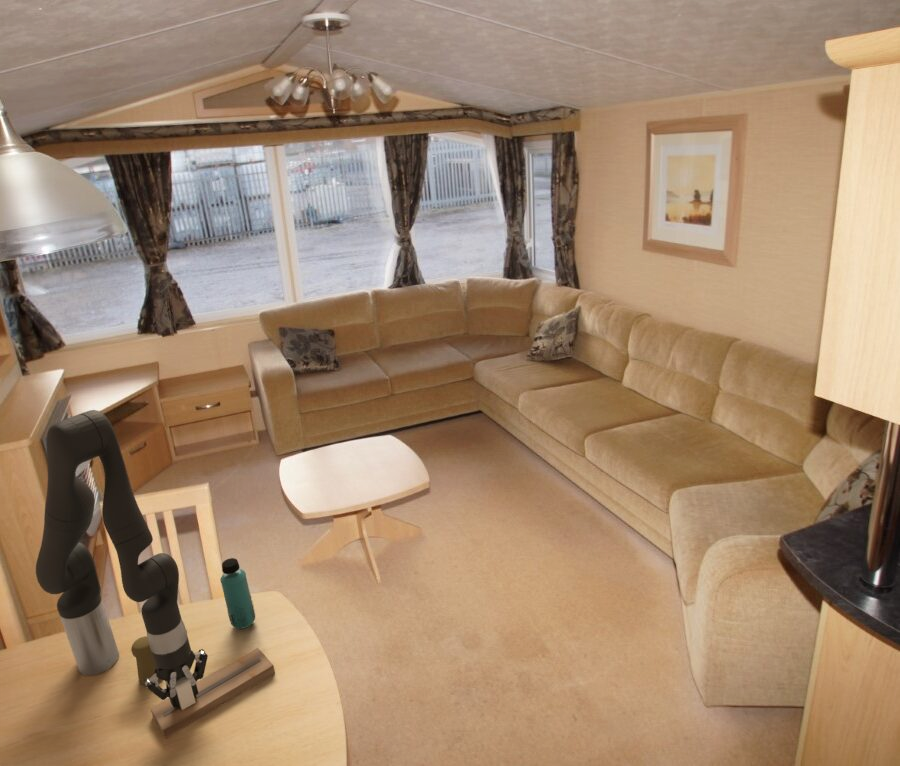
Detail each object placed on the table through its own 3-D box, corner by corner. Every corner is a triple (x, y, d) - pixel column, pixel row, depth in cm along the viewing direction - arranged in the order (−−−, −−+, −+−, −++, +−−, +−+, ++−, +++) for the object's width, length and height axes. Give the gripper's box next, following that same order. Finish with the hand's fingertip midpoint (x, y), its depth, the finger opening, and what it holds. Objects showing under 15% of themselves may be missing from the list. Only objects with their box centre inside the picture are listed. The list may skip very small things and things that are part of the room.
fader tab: (175, 699, 153) (168, 677, 151) (189, 691, 155) (182, 669, 153) (182, 710, 150) (175, 687, 148) (196, 702, 152) (190, 679, 150)
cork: (156, 688, 160) (145, 652, 156) (133, 686, 162) (122, 649, 158) (171, 669, 166) (160, 633, 162) (148, 666, 167) (138, 631, 163)
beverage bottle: (262, 618, 180) (248, 555, 173) (247, 636, 175) (232, 571, 167) (241, 614, 183) (226, 552, 175) (225, 631, 177) (210, 567, 169)
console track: (152, 716, 153) (150, 708, 152) (259, 655, 168) (257, 647, 167) (165, 738, 147) (162, 729, 146) (275, 673, 162) (273, 664, 161)
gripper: (193, 615, 153) (209, 674, 160) (129, 648, 145) (147, 709, 151) (207, 632, 148) (222, 693, 154) (140, 667, 139) (159, 729, 146)
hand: (185, 700), depth 153 cm, fingers closed on fader tab, 3 cm apart
